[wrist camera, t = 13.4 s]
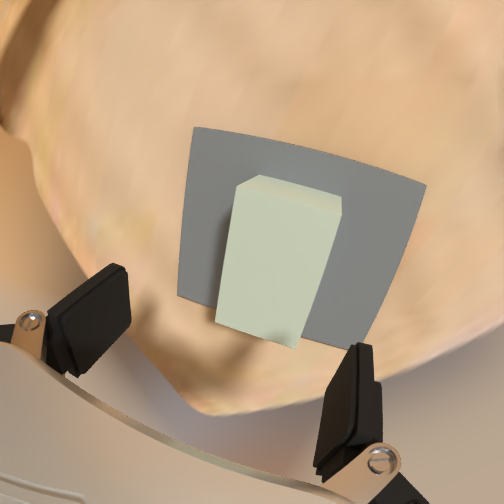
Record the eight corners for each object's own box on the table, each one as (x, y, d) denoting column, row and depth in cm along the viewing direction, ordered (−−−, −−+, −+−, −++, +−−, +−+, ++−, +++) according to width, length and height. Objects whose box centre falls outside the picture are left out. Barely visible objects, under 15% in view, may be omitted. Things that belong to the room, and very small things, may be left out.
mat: (180, 291, 25) (177, 295, 25) (197, 126, 19) (193, 127, 19) (357, 347, 22) (357, 352, 22) (424, 184, 16) (426, 185, 16)
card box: (259, 174, 19) (236, 186, 15) (341, 196, 18) (341, 214, 14) (237, 289, 23) (214, 322, 19) (305, 310, 22) (295, 348, 18)
